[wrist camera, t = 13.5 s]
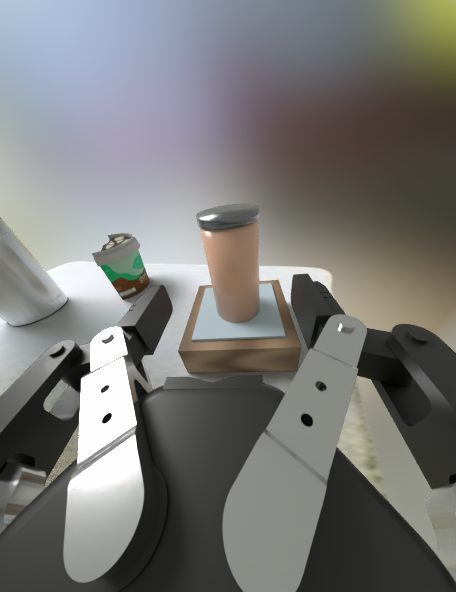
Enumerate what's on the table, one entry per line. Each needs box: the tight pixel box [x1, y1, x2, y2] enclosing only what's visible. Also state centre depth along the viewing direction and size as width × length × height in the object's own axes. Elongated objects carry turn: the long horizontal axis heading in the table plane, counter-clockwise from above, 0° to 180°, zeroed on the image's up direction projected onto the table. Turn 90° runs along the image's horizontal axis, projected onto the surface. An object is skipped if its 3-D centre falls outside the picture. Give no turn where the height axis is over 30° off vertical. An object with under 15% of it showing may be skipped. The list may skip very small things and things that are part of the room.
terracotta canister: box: [196, 204, 260, 323], centre depth 18 cm, size 5×5×11 cm
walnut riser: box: [178, 280, 301, 373], centre depth 23 cm, size 12×12×4 cm
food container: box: [92, 233, 149, 300], centre depth 36 cm, size 12×6×10 cm, turn 18°
